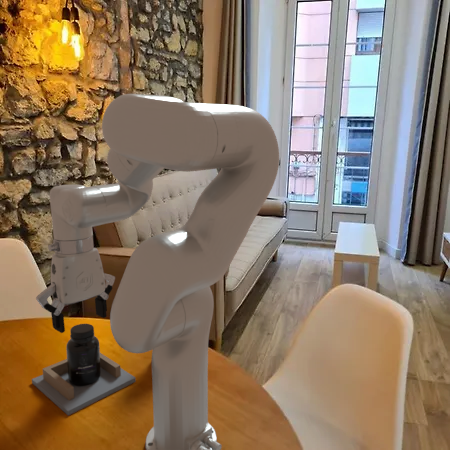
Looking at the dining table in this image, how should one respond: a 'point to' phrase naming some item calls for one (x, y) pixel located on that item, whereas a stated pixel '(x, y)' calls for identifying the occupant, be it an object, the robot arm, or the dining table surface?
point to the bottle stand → (81, 395)
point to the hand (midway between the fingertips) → (81, 323)
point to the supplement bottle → (83, 356)
